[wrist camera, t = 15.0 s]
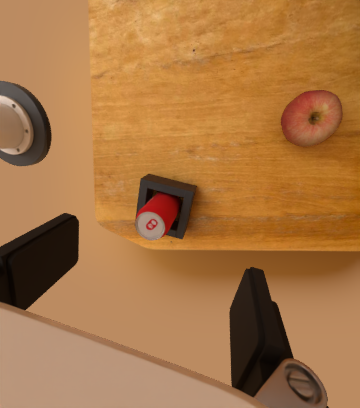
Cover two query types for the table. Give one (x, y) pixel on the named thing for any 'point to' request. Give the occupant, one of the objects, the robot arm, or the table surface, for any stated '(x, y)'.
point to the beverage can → (157, 216)
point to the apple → (311, 117)
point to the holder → (170, 187)
